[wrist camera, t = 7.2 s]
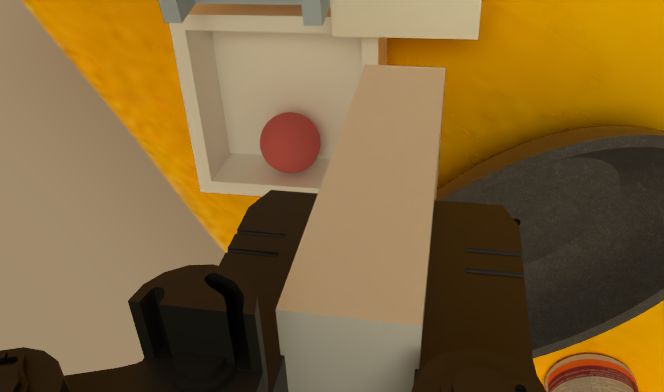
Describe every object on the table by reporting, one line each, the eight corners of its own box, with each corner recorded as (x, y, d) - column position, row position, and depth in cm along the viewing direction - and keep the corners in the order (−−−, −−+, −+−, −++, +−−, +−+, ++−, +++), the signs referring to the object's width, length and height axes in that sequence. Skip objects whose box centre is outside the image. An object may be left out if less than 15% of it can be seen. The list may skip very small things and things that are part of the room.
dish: (196, -8, 35) (167, 14, 31) (387, -7, 33) (377, 17, 29) (222, 158, 40) (200, 191, 37) (386, 168, 38) (378, 204, 35)
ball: (261, 98, 36) (247, 144, 34) (321, 100, 35) (310, 147, 33) (273, 138, 39) (260, 183, 37) (328, 141, 38) (318, 187, 36)
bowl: (746, 189, 35) (792, 259, 30) (428, 334, 46) (422, 404, 41) (637, 20, 31) (669, 67, 26) (318, 222, 42) (297, 282, 37)
